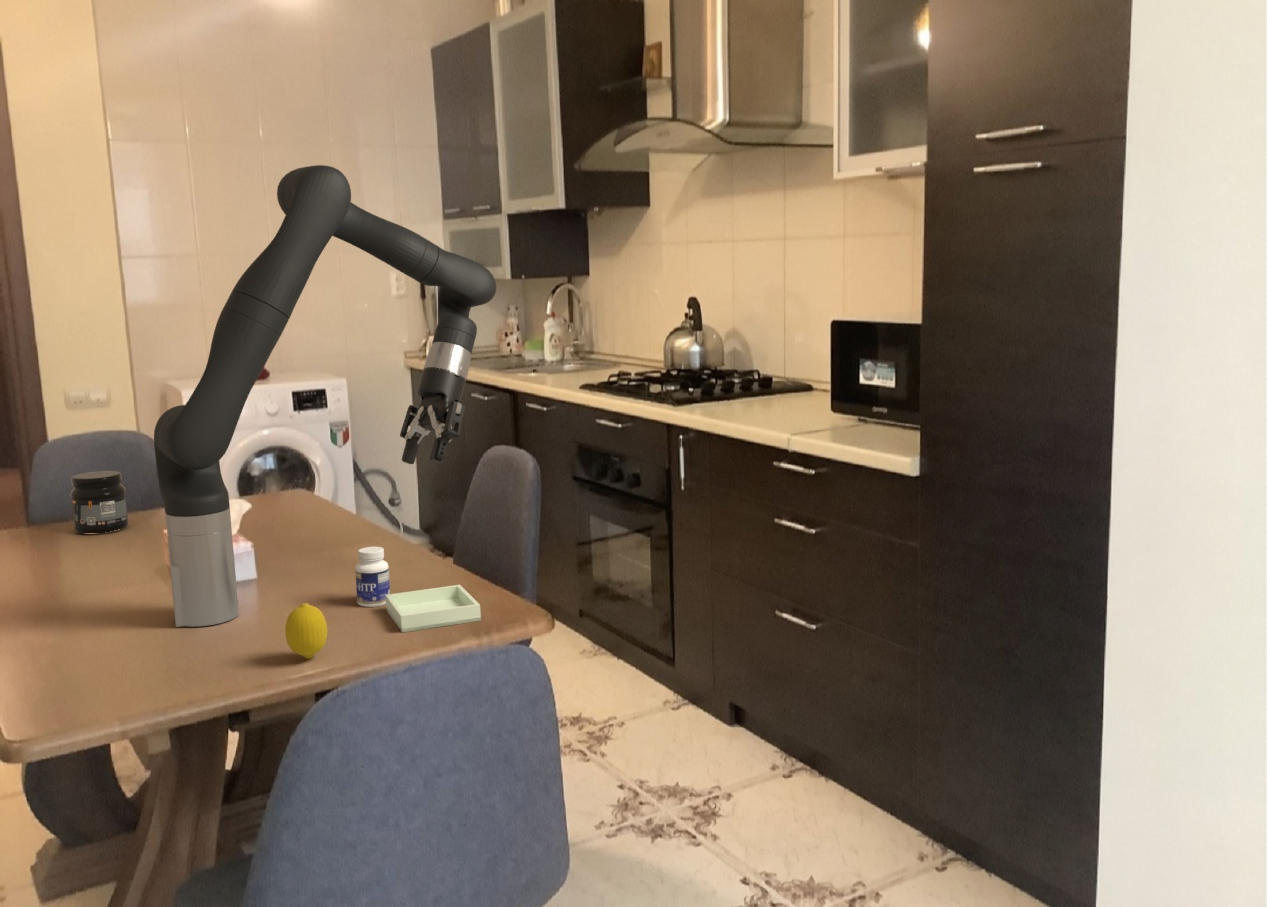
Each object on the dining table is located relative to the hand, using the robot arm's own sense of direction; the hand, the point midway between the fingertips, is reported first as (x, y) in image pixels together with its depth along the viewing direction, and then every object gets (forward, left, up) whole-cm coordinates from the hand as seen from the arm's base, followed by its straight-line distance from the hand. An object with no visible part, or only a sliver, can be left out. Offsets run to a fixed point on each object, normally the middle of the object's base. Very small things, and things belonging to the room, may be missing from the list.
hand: (421, 462), depth 180 cm
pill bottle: (-11, -8, -21) cm, 25 cm away
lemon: (-24, -30, -21) cm, 44 cm away
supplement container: (-54, +72, -21) cm, 92 cm away
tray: (-4, -19, -21) cm, 28 cm away
